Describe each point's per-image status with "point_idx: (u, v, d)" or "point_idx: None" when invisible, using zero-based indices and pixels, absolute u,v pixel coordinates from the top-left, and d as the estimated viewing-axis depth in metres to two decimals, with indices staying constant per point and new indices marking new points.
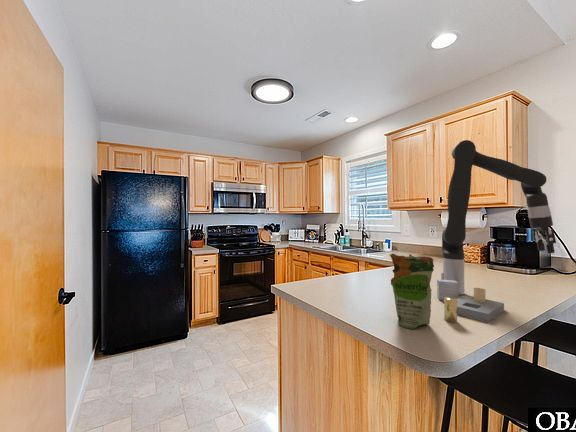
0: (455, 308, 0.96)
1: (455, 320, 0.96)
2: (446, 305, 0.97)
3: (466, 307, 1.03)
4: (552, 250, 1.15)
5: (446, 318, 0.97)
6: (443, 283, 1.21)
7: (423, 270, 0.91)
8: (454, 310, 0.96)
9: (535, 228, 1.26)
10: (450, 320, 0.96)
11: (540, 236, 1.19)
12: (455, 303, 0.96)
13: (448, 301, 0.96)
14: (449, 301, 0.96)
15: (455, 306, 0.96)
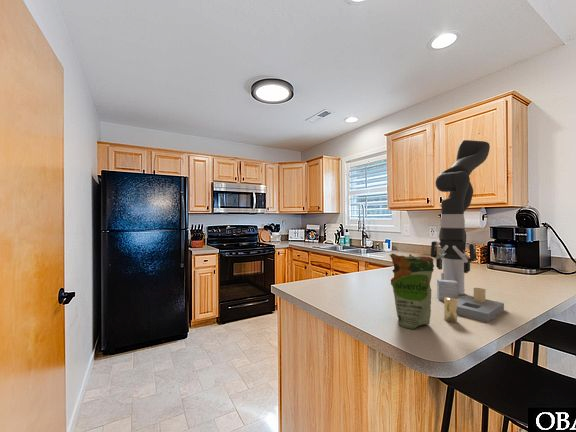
0: (455, 308, 0.96)
1: (455, 320, 0.96)
2: (446, 305, 0.97)
3: (466, 307, 1.03)
4: None
5: (446, 318, 0.97)
6: (443, 283, 1.21)
7: (423, 270, 0.91)
8: (454, 310, 0.96)
9: None
10: (450, 320, 0.96)
11: None
12: (455, 303, 0.96)
13: (448, 301, 0.96)
14: (449, 301, 0.96)
15: (455, 306, 0.96)
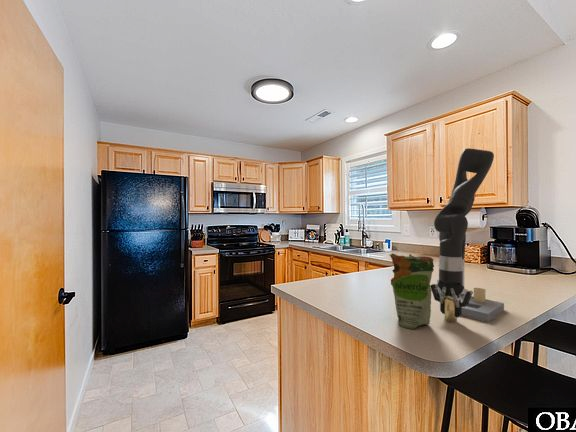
0: None
1: (455, 320, 0.96)
2: (446, 305, 0.97)
3: (466, 307, 1.03)
4: None
5: (446, 318, 0.97)
6: None
7: (423, 270, 0.91)
8: (454, 310, 0.96)
9: (470, 291, 0.93)
10: (450, 320, 0.96)
11: None
12: None
13: (448, 301, 0.96)
14: (449, 301, 0.96)
15: (455, 306, 0.96)
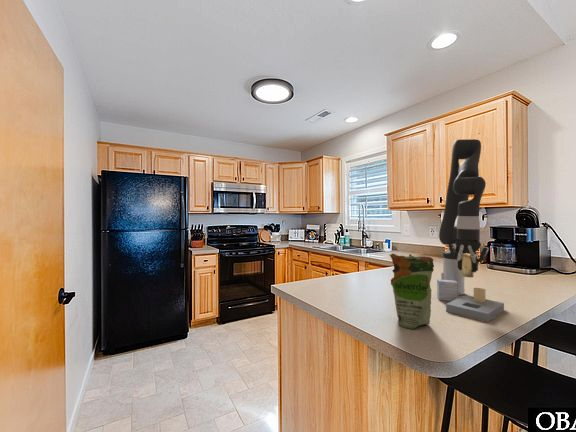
0: None
1: (472, 275, 1.03)
2: (463, 261, 1.05)
3: (466, 307, 1.03)
4: None
5: (463, 273, 1.05)
6: (443, 283, 1.21)
7: (423, 270, 0.91)
8: (471, 266, 1.03)
9: (486, 247, 1.00)
10: (467, 275, 1.04)
11: None
12: None
13: (465, 258, 1.04)
14: (466, 257, 1.04)
15: (472, 262, 1.03)
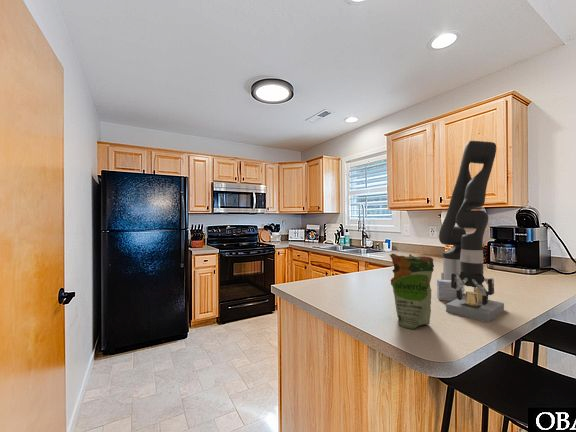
0: (476, 301, 1.03)
1: None
2: (468, 299, 1.05)
3: (466, 307, 1.03)
4: None
5: None
6: (443, 283, 1.21)
7: (423, 270, 0.91)
8: (475, 303, 1.03)
9: (490, 278, 1.01)
10: None
11: None
12: (476, 297, 1.03)
13: (469, 295, 1.04)
14: (471, 295, 1.04)
15: (476, 299, 1.03)
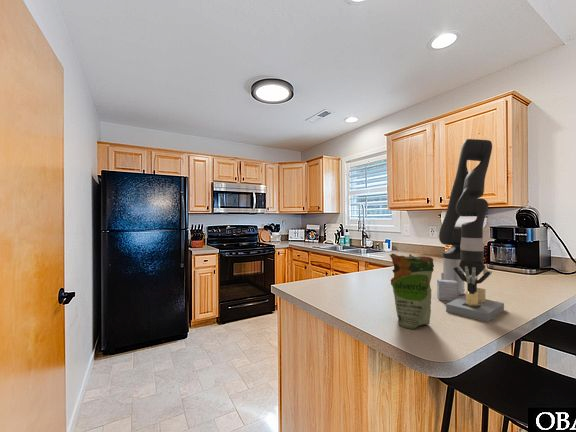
0: (476, 301, 1.03)
1: None
2: (468, 299, 1.05)
3: (466, 307, 1.03)
4: None
5: None
6: (443, 283, 1.21)
7: (423, 270, 0.91)
8: (475, 303, 1.03)
9: (489, 271, 1.01)
10: None
11: None
12: (476, 297, 1.03)
13: (469, 295, 1.04)
14: (471, 295, 1.04)
15: (476, 299, 1.03)
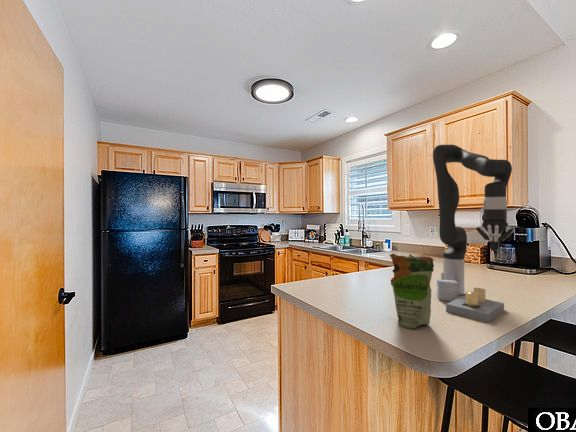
0: (476, 301, 1.03)
1: None
2: (468, 299, 1.05)
3: (466, 307, 1.03)
4: None
5: None
6: (443, 283, 1.21)
7: (423, 270, 0.91)
8: (475, 303, 1.03)
9: None
10: None
11: None
12: (476, 297, 1.03)
13: (469, 295, 1.04)
14: (470, 295, 1.04)
15: (476, 299, 1.03)
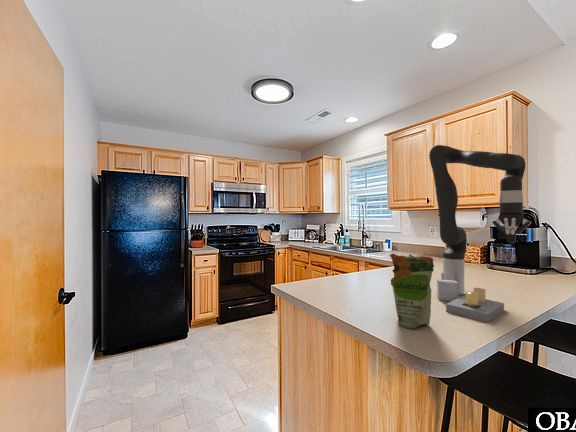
0: (476, 301, 1.03)
1: None
2: (468, 299, 1.05)
3: (466, 307, 1.03)
4: None
5: None
6: (443, 283, 1.21)
7: (423, 270, 0.91)
8: (475, 303, 1.03)
9: (529, 221, 1.07)
10: None
11: None
12: (476, 297, 1.03)
13: (469, 295, 1.04)
14: (470, 295, 1.04)
15: (476, 299, 1.03)
